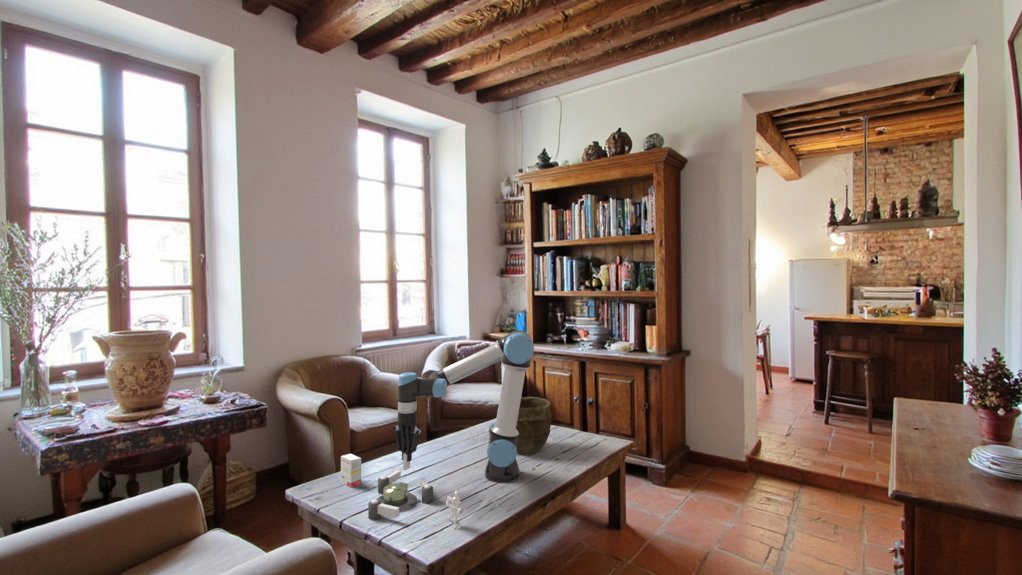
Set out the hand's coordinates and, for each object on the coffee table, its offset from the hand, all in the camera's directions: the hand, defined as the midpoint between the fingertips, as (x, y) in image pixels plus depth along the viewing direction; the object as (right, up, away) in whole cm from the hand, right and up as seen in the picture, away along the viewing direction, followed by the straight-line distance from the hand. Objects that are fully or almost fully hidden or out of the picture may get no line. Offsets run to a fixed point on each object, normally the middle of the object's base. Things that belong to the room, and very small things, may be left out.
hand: (406, 468), depth 196 cm
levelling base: (-3, -9, -16) cm, 18 cm away
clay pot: (+50, -8, +45) cm, 68 cm away
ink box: (-24, -9, +4) cm, 26 cm away
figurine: (+23, -9, -30) cm, 39 cm away
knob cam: (-3, -8, -26) cm, 27 cm away
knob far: (-7, -8, 0) cm, 10 cm away
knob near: (+9, -8, -8) cm, 15 cm away
